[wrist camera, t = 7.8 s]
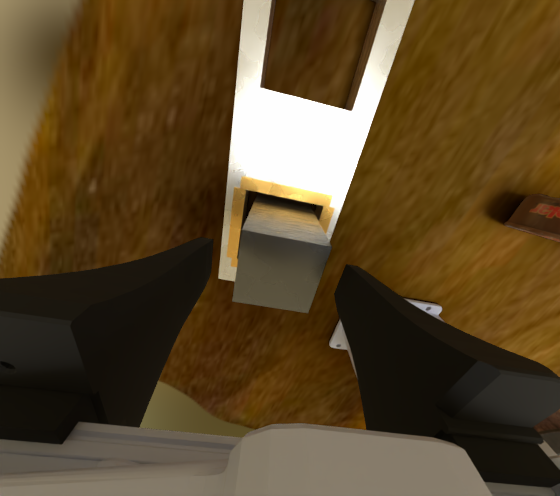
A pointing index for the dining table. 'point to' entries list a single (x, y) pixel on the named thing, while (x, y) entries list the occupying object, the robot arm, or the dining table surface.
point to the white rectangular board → (300, 126)
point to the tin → (538, 216)
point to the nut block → (280, 255)
